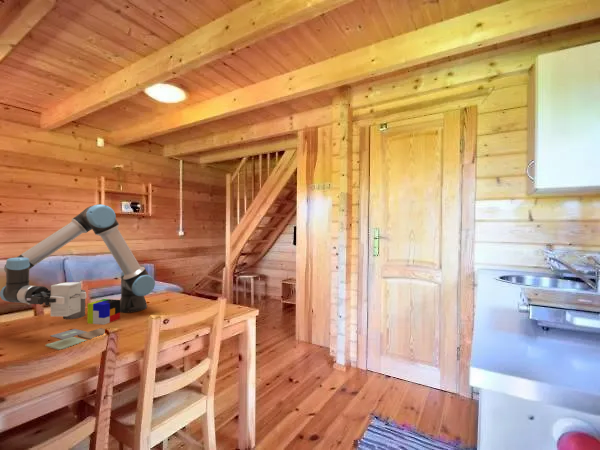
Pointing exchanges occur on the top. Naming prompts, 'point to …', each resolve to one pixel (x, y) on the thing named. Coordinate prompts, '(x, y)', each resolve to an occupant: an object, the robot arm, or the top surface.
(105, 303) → the puzzle toy
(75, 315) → the pillar candle
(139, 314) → the top surface
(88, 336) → the walnut pad
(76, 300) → the supplement box
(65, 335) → the tile
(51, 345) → the sage pad
